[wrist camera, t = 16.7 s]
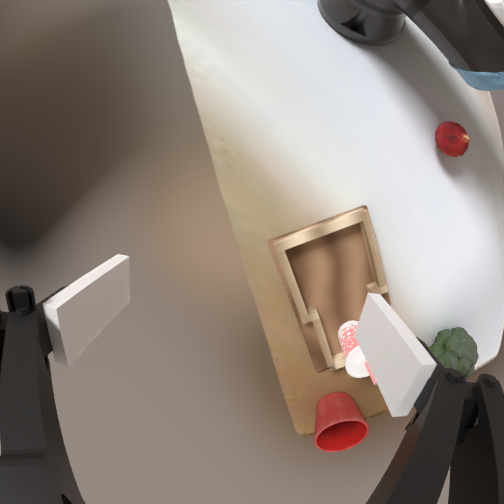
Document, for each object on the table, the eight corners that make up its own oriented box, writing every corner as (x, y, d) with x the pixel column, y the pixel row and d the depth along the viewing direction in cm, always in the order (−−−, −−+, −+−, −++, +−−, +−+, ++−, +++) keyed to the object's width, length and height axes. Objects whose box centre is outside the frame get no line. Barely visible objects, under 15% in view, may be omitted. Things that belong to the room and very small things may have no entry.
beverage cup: (326, 331, 46) (345, 385, 32) (356, 309, 44) (385, 358, 31) (344, 352, 47) (365, 405, 33) (372, 332, 46) (401, 381, 32)
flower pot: (299, 414, 53) (303, 448, 44) (327, 380, 50) (336, 415, 41) (338, 423, 54) (346, 455, 44) (367, 392, 51) (380, 424, 42)
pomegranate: (426, 153, 38) (454, 152, 30) (426, 121, 36) (452, 114, 29) (452, 159, 38) (480, 160, 30) (451, 128, 36) (479, 123, 29)
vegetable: (396, 374, 47) (449, 335, 37) (417, 342, 55) (461, 304, 45) (428, 412, 42) (484, 380, 32) (446, 376, 49) (493, 342, 39)
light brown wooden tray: (364, 205, 41) (372, 208, 37) (394, 337, 47) (401, 348, 43) (267, 241, 43) (267, 247, 40) (315, 368, 49) (318, 380, 46)
